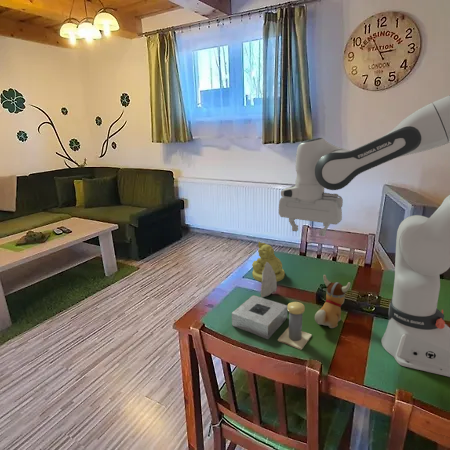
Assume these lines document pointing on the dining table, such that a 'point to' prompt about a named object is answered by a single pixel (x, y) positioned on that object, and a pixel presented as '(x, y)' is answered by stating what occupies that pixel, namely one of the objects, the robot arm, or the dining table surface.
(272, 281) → the stone tool
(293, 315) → the plug
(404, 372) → the dining table surface
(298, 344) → the coaster
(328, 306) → the toy
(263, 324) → the housing
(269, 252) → the figurine
